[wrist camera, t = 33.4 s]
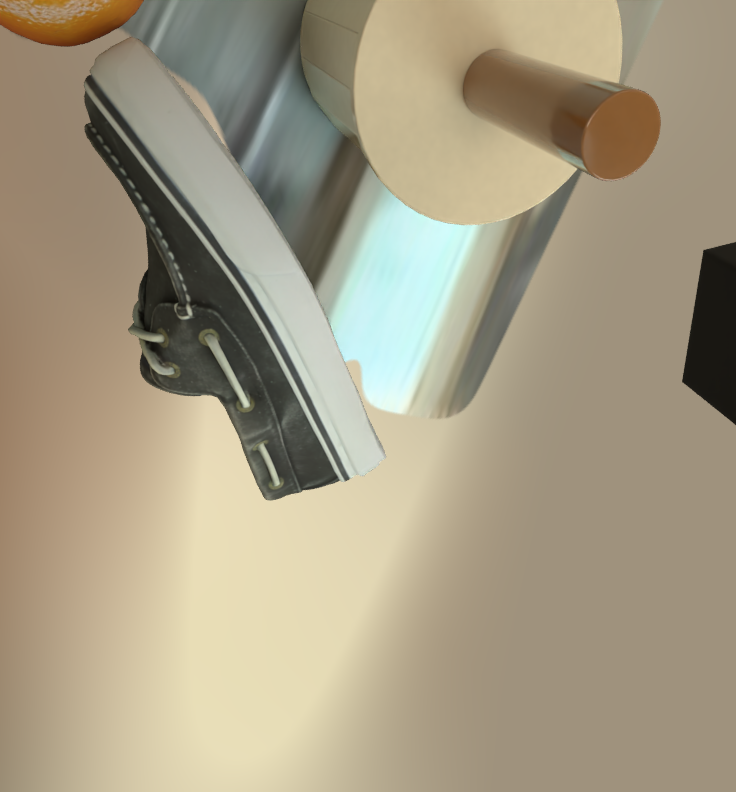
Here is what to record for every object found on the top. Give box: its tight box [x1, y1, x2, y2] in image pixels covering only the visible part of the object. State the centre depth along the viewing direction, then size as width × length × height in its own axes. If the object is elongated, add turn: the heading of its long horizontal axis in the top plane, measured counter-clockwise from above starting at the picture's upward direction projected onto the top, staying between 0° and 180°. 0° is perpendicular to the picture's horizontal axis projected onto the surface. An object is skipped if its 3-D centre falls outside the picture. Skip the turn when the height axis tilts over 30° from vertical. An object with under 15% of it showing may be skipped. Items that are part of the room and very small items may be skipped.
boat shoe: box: [84, 37, 386, 500], centre depth 38 cm, size 10×29×10 cm
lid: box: [350, 0, 661, 225], centre depth 25 cm, size 11×11×10 cm
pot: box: [300, 0, 371, 152], centre depth 33 cm, size 10×10×12 cm
